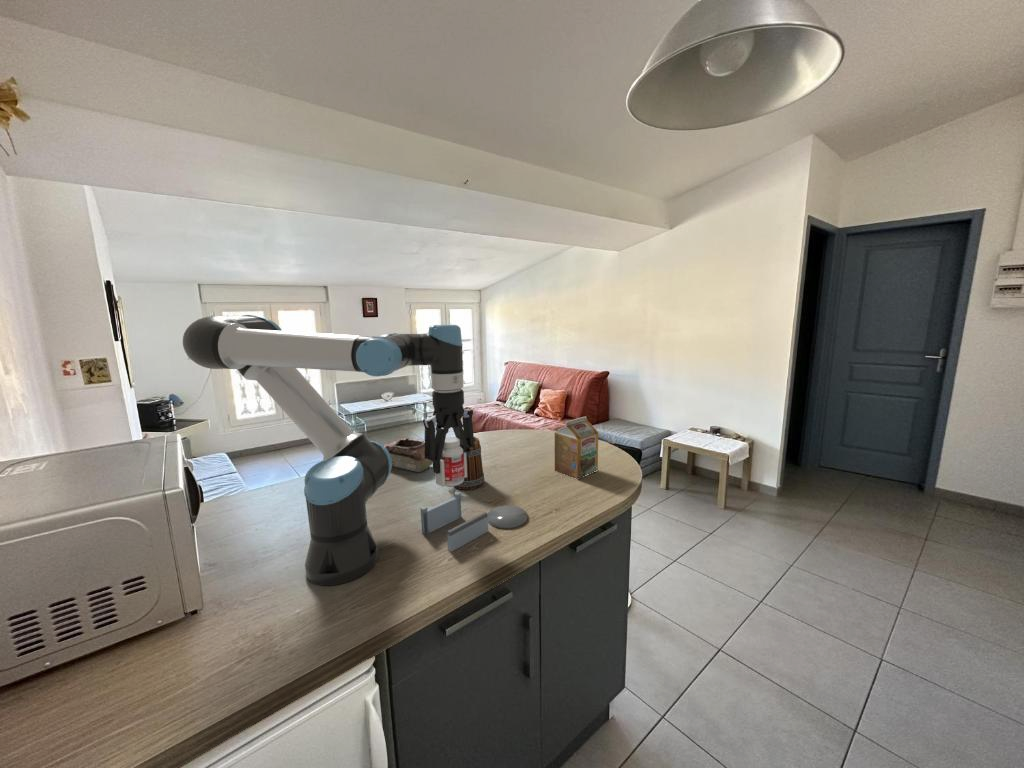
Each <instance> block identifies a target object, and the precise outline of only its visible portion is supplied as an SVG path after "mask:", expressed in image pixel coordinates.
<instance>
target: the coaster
mask: <svg viewBox="0 0 1024 768" xmlns="http://www.w3.org/2000/svg"><path fill="white" fill-rule="evenodd" d="M487 517H488V525H491V527H495V528H498V529H506V530H507V529H515V528H518V527H520V526H522V525H524V524H526V522H527V521H528V513H527V511H526V510H525V509H524V508H522V507H520V506H516V505H508V504H506V505H499V506H496V507H494V508H491V509H490V510H489V511H488V512H487Z"/></svg>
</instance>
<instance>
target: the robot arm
mask: <svg viewBox="0 0 1024 768" xmlns="http://www.w3.org/2000/svg"><path fill="white" fill-rule="evenodd" d="M182 346H183V349H184V352H185V354H186V355H187V357H188V358H189V359H190V360H191V361H192V362H194V363H195V364H196V365H198V366H201V367H203V368H206V369H210V370H212V369H213V370H222V369H223V370H226V369H227V370H237V371H238V372H239V373H240V375H241V376H242V377H243V379H245V380H248V381H256V382H257V383H258V384H259V385H260V386H261V388H263V390H264V391H265V392H266V393H267V394H268V395H269V397H270V398H271V399H273V401H274V402H275V403H276V404H277V406H279V407H280V408H281V410H282V411H283V412H284V413H285V415H287V416H288V417H289V419H290V420H291V421H292V422H293V423H294V424H295V425H296V426H297V428H299V430H300V431H301V432H302V433H303V434H304V435H305V436H306V438H308V439H309V441H310V442H311V443H312V444H313V445H314V446H315V447H316V449H317V450H318V451H319V452H320V453H321V454H322V455H323V459H322V460H321V461H318V462H317V463H315V464H314V465H312V467H310V468H309V470H307V472H306V474H305V476H304V489H303V490H304V491H303V493H304V496H305V502H306V511H307V518H308V524H309V533H310V541H309V546H308V549H307V554H306V558H305V562H304V568H305V569H304V570H305V576H306V578H307V580H308V581H310V582H311V583H314V584H315V585H321V586H337V585H340V584H341V585H342V584H345V583H349V582H351V581H354V580H356V579H359V578H360V577H362V576H364V575H365V574H367V573H368V572H369V571H371V569H373V567H375V565H376V564H377V562H378V560H379V547H378V543H377V542H376V539H375V537H374V535H373V534H372V531H371V529H370V528H369V526H368V516H367V506H366V504H367V502H368V501H369V499H371V497H372V496H373V495H374V494H375V493H376V491H378V489H380V488H381V487H382V486H383V485H384V484H386V481H387V479H388V477H389V475H390V474H391V471H392V467H393V466H392V465H393V464H392V460H391V456H390V454H389V452H388V450H387V449H386V448H385V447H384V445H383V444H382V443H380V442H377V441H372V440H369V439H368V438H367V437H366V436H365V435H364V433H362V432H354V431H352V429H351V428H350V427H349V426H348V425H347V424H346V423H345V422H344V420H343V419H342V418H341V417H340V416H339V415H338V413H336V412H335V410H334V409H333V408H332V407H331V406H330V405H329V404H328V402H327V401H326V400H325V399H324V398H323V396H322V395H320V393H319V392H318V390H316V389H315V387H313V386H312V384H311V383H310V382H309V381H308V380H307V379H306V378H305V376H304V375H303V374H302V373H301V371H299V369H305V370H306V369H309V370H324V371H341V372H342V371H343V372H356V373H358V372H359V373H364V374H366V375H368V376H370V377H382V376H383V377H386V376H388V375H391V374H393V373H395V372H396V371H398V370H401V369H403V368H406V367H408V366H430V371H431V372H430V374H431V375H430V377H431V380H430V381H431V389H432V392H431V395H432V398H431V400H432V407H433V414H432V416H430V417H428V418H423V420H422V423H423V426H424V443H425V458H426V459H428V460H431V461H432V472H433V473H434V474H435V484H436V485H438V486H441V487H442V488H443V487H446V486H445V471H444V460H442V459H441V457H442V452H443V448H444V443H445V438H446V437H447V434H448V433H449V430H450V429H452V430H453V433H454V437H457V438H459V439H460V445H459V446H460V447H461V448H462V449H463V460H464V478H466V477H467V463H468V452H471V449H470V448H471V447H474V437H475V435H474V428H473V425H474V424H473V417H474V410H472V409H469V408H464V404H465V392H464V390H463V389H464V367H463V365H464V363H463V340H462V329H461V327H460V326H459V325H457V324H432V325H430V326H429V327H428V331H427V332H426V333H397V332H395V333H386V334H381V335H380V336H375V335H374V336H373V335H371V336H370V335H352V334H337V333H335V334H334V333H324V332H323V333H322V332H321V333H320V332H304V331H289V330H288V331H286V330H285V331H284V330H282V328H281V326H280V325H278V324H277V323H276V322H275V321H273V320H271V319H269V318H267V317H264V316H261V315H260V316H259V315H253V314H252V315H251V314H244V315H239V316H238V315H236V316H235V315H232V316H231V315H228V316H227V315H210V316H206V317H201V318H198V319H197V320H195V321H193V322H192V323H191V324H189V326H188V327H186V329H185V331H184V333H183V335H182Z"/></svg>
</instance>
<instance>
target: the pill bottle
mask: <svg viewBox="0 0 1024 768" xmlns="http://www.w3.org/2000/svg"><path fill="white" fill-rule="evenodd" d="M459 445H460V439H459V438H457V437H456V436H446V438H445V443H444V448H443V452H442V457H441V459H442V460H444V471H445V486H444V487H455V486H456V485H459V484H461V483H462V482H463V481H464V460H463V449H462V448H461V447H460V446H459Z"/></svg>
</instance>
